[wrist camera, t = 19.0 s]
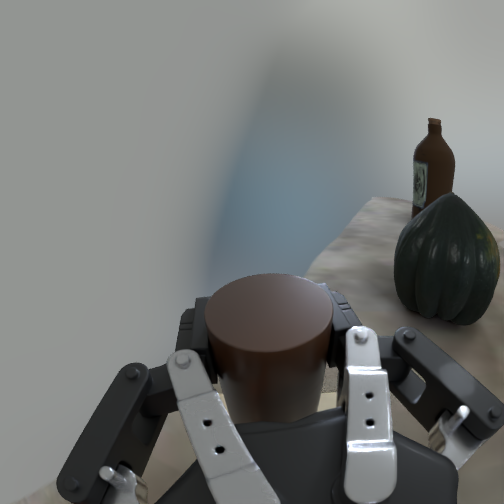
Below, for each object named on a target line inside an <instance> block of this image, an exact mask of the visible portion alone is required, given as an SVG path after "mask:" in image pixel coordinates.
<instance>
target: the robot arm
mask: <svg viewBox="0 0 504 504" xmlns="http://www.w3.org/2000/svg"><path fill="white" fill-rule="evenodd" d="M317 285H319V286H320V287H321V288H323V289H324V290H325V291H326V292H327V294H328V295H329V297H330V298H331V301H332V303H333V320H332V328H331V335H330V343H329V349H328V356H327V363H328V365H329V368H332V367H337V368H338V370H339V371H338V376H337V396H336V408H332V409H327V410H323V411H319V412H315V413H313V414H311V415H309V416H306V417H304V418H302V419H299V420H297V421H294V422H292V423H280V422H265V421H259V422H250V423H239V424H233V422H232V420H231V418H230V416H229V415H228V413H227V411H226V409H225V407H224V405H223V403H222V401H221V399H220V397H219V395H218V393H217V391H216V389H214V388H213V385H212V384H218V373H217V369H216V366H215V362H214V358H213V354H212V350H211V346H210V342H209V337H208V333H207V329H206V325H205V320H204V311H205V307H206V304H207V302H208V300H209V299H210V298H211V297H201V298H196V302H195V308H192V309H187V310H186V311H185V312H184V313H183V314H182V316H181V321H180V326H179V332H178V337H177V343H176V349H175V352H174V353H173V354H172V355H170V356H169V358H168V360H167V363H166V364H164V365H162V366H159V367H155V368H152V369H149V370H148V369H147V367H146V366H145V365H144V364H141V363H130V364H128V365H126V366H124V367H123V368H122V369H121V370H120V371H119V373H118V374H117V376H116V377H115V379H114V381H113V382H112V384H111V385H110V387H109V389H108V390H107V392H106V393H105V395H104V397H103V398H102V400H101V402H100V403H99V405H98V406H97V408H96V410H95V412H94V413H93V415H92V416H91V418H90V420H89V422H88V424H87V425H86V427H85V428H84V430H83V432H82V434H81V435H80V437H79V439H78V441H77V442H76V444H75V446H74V448H73V450H72V451H71V453H70V455H69V457H68V459H67V460H66V462H65V464H64V466H63V468H62V470H61V471H60V473H59V475H58V477H57V482H56V484H57V489H58V492H59V493H60V495H61V496H62V497H63V498H64V499H65V500H67V501H69V502H71V503H73V504H148V503H147V494H148V488H147V485H146V483H145V481H144V480H143V479H142V478H141V477H142V475H143V472H144V470H145V467H146V465H147V463H148V460H149V458H150V455H151V453H152V451H153V448H154V446H155V443H156V441H157V439H158V436H159V434H160V432H161V429H162V427H163V425H164V422H165V420H166V418H167V415H168V413H171V412H174V411H178V410H179V412H180V415H181V417H182V420H183V423H184V426H185V429H186V431H187V434H188V437H189V439H190V442H191V445H192V447H193V450H194V452H195V455H196V457H197V459H196V461H195V462H194V463H193V464H192V465H191V466H190V467H189V468H188V469H187V470H186V472H185V473H184V474H183V475H182V476H181V477H180V478H179V479H178V480H177V481H176V482H175V483H174V484H173V485H172V486H171V487H170V488H169V490H168V491H167V492H166V493H165V494H164V495H163V496H162V497H161V498H160V499H159V500H158V501H157V502H156V503H154V504H457V489H458V481H459V478H458V472H457V471H458V470H459V469H460V468H461V467H462V466H463V465H464V464H465V463H466V461H467V460H468V459H469V458H470V457H471V456H472V455H473V454H474V452H475V451H476V450H477V449H479V448H480V447H481V446H482V445H483V444H484V443H485V442H486V441H487V440H488V439H490V438H491V437H492V436H493V435H494V434H495V433H496V432H497V431H498V430H499V429H500V428H501V427H502V426H503V425H504V404H503V403H502V402H501V401H500V400H499V399H498V398H497V397H495V396H494V395H493V394H492V393H491V392H490V391H489V390H488V389H487V388H486V387H484V386H483V385H482V384H481V383H480V382H479V381H478V380H477V379H475V378H474V377H473V376H472V375H471V374H470V373H469V372H467V371H466V370H465V369H464V368H463V367H462V366H460V365H459V364H458V363H457V362H456V361H455V360H453V359H452V358H451V357H450V356H449V355H448V354H446V353H445V352H444V351H443V350H442V349H440V348H439V347H438V346H437V345H436V344H434V343H433V342H432V341H431V340H430V339H428V338H427V337H426V336H425V335H423V334H422V333H421V332H420V331H418V330H417V329H415V328H413V327H401V328H399V329H397V331H396V332H395V335H394V336H377V334H376V333H375V332H374V331H373V330H372V329H370V328H368V327H365V326H363V325H362V324H361V322H360V321H359V319H358V317H357V316H356V314H355V313H354V311H353V310H352V309H351V307H350V305H349V304H348V302H347V300H346V299H345V297H344V296H343V295H341V294H340V293H338V292H337V291H334V292H331V291H330V289H329V288H328V286H327V284H326V283H321V284H317ZM412 368H413V369H414V370H415V371H417V372H418V373H419V374H420V375H421V376H422V377H423V378H424V380H425V382H426V384H425V383H424V382H423V381H422V380H421V379H420V378H419V377H418V376H417V375H416V374H415V373H414V372H413V371H412V370H411V369H412ZM389 390H390V391H391V392H392V393H393V395H394V396H395V397H396V398H397V399H398V400H399V401H400V402H401V403H402V404H403V405H404V406H405V407H406V409H407V410H408V411H409V412H410V413H411V414H412V415H413V416H414V417H415V418H416V419H417V420H418V421H419V423H420V424H421V425H422V426H423V427H424V428H425V429H426V430H427V431H428V432H429V434H428V440H429V448H428V447H425V446H423V445H421V444H419V443H417V442H415V441H413V440H411V439H409V438H407V437H405V436H403V435H401V434H399V433H397V432H395V431H393V430H392V415H391V403H390V393H389Z"/></svg>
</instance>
